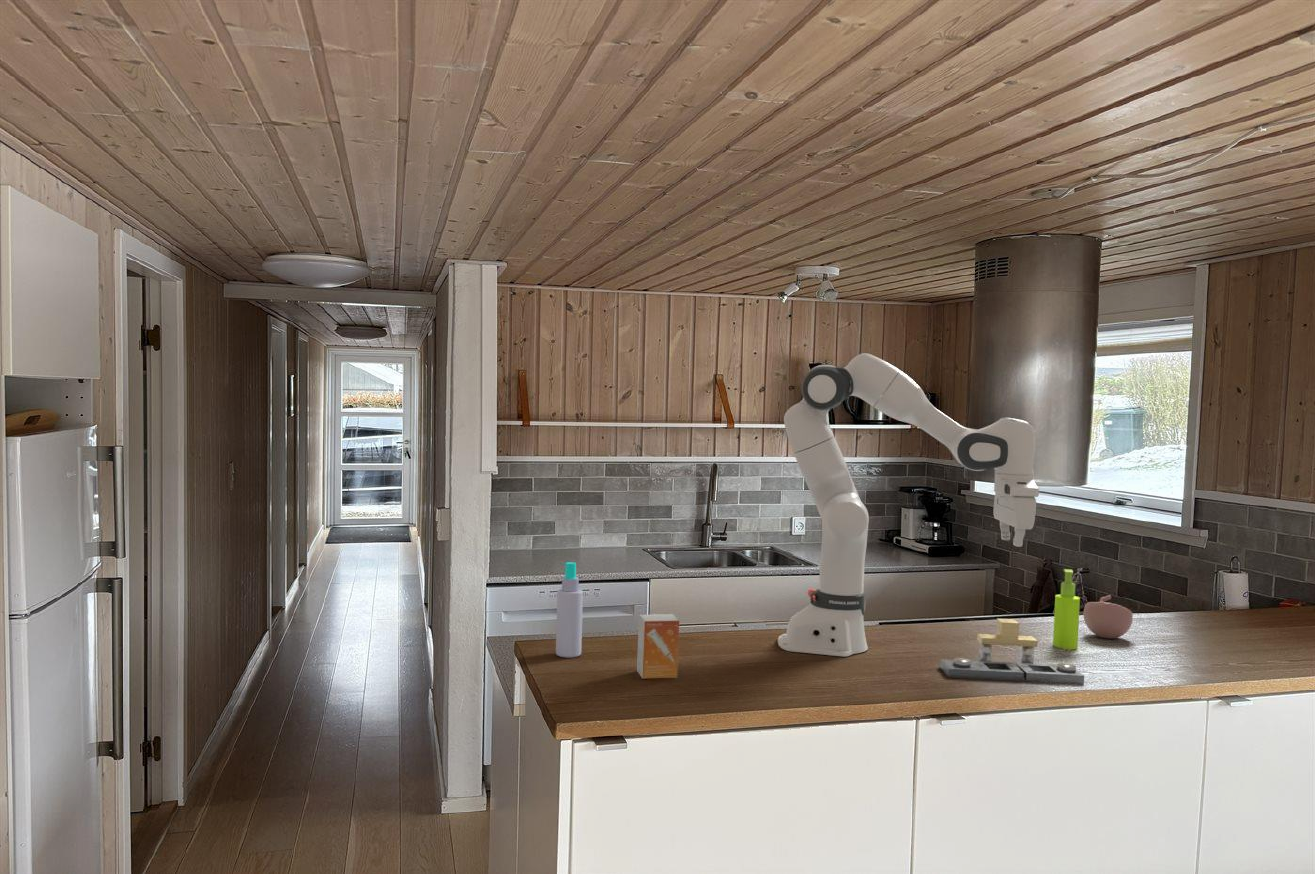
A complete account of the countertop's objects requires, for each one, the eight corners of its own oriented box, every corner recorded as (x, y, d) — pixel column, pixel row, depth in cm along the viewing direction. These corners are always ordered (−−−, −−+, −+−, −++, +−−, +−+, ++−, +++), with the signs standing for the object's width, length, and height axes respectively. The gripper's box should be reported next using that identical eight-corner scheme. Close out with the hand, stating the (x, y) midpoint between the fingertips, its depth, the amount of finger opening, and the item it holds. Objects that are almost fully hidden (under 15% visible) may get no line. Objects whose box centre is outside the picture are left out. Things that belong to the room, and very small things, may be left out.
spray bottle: (577, 659, 216) (579, 566, 215) (552, 657, 217) (554, 564, 217) (584, 652, 222) (586, 561, 221) (560, 650, 223) (562, 560, 222)
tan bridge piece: (980, 664, 222) (982, 621, 221) (976, 659, 226) (978, 617, 225) (1036, 667, 221) (1038, 623, 220) (1030, 662, 225) (1032, 619, 224)
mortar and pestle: (1133, 636, 254) (1135, 595, 253) (1128, 646, 243) (1131, 603, 243) (1085, 629, 260) (1087, 589, 259) (1079, 638, 250) (1081, 596, 249)
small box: (642, 679, 202) (644, 620, 202) (636, 671, 209) (638, 613, 208) (678, 678, 204) (679, 619, 204) (671, 669, 210) (673, 613, 210)
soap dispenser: (1075, 643, 244) (1079, 568, 243) (1078, 650, 238) (1082, 573, 237) (1051, 641, 246) (1055, 566, 245) (1053, 647, 239) (1057, 571, 239)
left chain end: (948, 677, 211) (948, 664, 210) (940, 667, 219) (940, 654, 218) (1023, 681, 209) (1024, 668, 209) (1012, 670, 217) (1013, 658, 217)
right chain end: (1026, 681, 209) (1026, 668, 209) (1015, 670, 217) (1015, 658, 217) (1083, 684, 208) (1084, 671, 208) (1070, 673, 216) (1071, 661, 216)
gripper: (988, 481, 232) (985, 536, 233) (1013, 489, 212) (1011, 549, 212) (1013, 482, 232) (1011, 536, 232) (1041, 490, 211) (1039, 550, 212)
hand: (1011, 542), depth 222 cm, fingers open, 8 cm apart
